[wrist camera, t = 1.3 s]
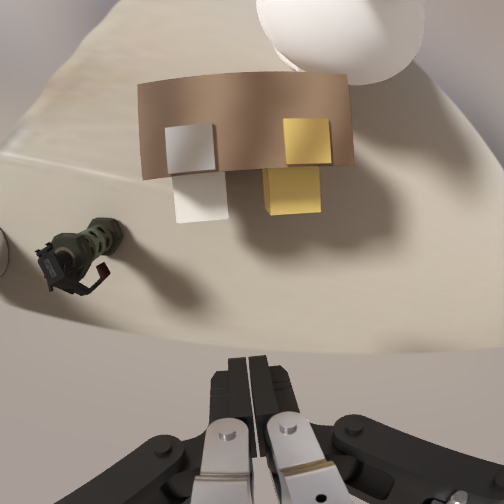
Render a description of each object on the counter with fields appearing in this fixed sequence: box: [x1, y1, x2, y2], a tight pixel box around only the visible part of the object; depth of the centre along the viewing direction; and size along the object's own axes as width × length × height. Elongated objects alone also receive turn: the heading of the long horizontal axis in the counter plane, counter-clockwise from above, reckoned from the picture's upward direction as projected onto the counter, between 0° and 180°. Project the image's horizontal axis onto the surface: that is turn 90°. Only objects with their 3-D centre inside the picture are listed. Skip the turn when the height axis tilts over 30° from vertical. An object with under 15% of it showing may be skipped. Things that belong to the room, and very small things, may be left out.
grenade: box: [35, 218, 123, 296], centre depth 30 cm, size 6×6×15 cm
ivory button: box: [172, 171, 228, 223], centre depth 28 cm, size 4×6×4 cm
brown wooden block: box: [138, 72, 355, 180], centre depth 28 cm, size 15×7×16 cm, turn 94°
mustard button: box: [262, 166, 321, 215], centre depth 28 cm, size 4×6×4 cm
